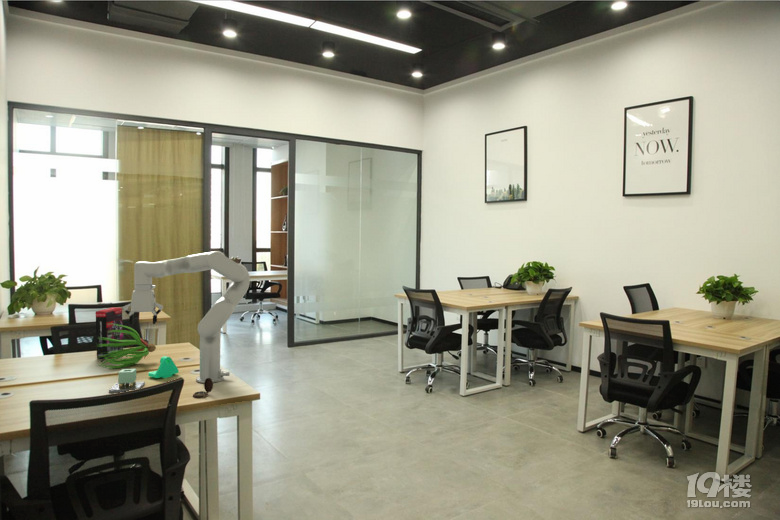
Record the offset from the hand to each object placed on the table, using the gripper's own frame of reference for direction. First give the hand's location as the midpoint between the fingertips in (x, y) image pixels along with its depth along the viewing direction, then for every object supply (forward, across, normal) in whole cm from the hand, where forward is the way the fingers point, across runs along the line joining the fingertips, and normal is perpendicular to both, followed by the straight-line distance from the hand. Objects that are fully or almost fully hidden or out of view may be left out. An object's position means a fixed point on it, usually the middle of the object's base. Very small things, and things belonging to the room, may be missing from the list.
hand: (143, 323), depth 239 cm
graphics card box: (+28, +32, -63) cm, 76 cm away
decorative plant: (+29, +17, -37) cm, 49 cm away
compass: (+29, -30, +26) cm, 49 cm away
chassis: (+28, +5, +8) cm, 30 cm away
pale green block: (+25, +5, +8) cm, 27 cm away
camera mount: (+29, -7, -11) cm, 32 cm away
